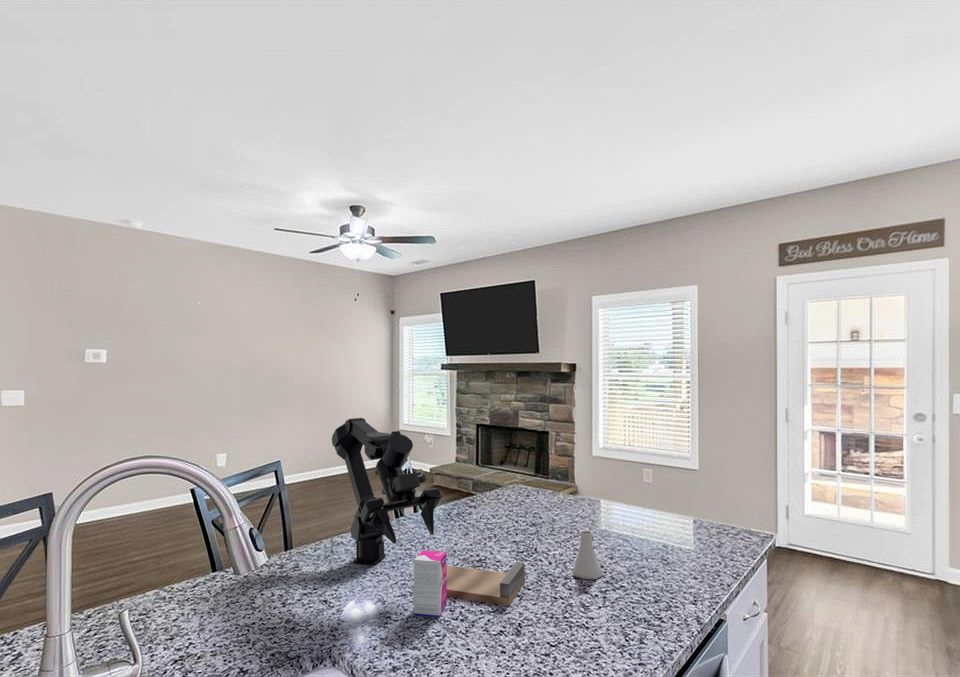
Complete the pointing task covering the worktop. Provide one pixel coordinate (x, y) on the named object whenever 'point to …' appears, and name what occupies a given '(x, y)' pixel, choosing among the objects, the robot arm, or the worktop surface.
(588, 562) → the flask
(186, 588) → the worktop surface
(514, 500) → the worktop surface
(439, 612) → the supplement box
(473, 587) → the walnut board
